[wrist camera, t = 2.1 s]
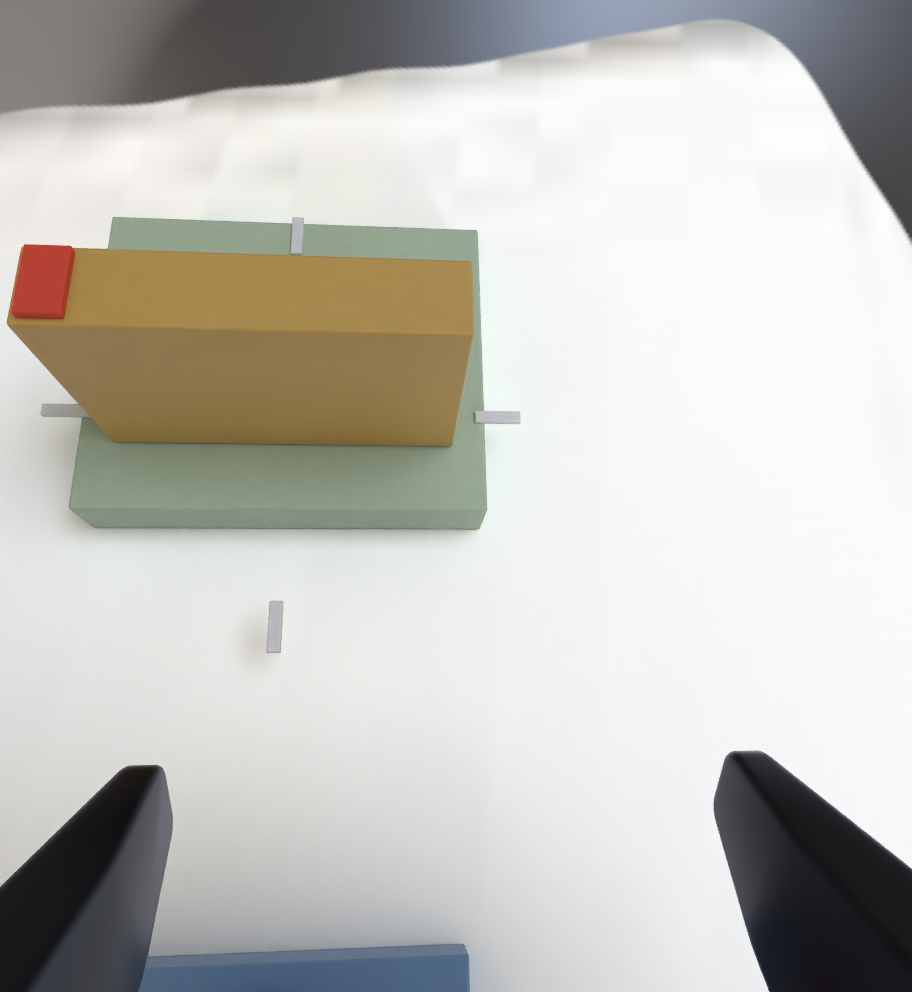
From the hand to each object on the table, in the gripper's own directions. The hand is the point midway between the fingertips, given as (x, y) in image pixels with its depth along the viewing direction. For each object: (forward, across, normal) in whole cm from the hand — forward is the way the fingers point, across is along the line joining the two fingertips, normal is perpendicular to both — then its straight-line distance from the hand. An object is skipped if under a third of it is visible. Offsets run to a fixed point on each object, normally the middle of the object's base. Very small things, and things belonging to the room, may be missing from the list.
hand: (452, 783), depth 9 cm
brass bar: (+15, +4, +1) cm, 16 cm away
